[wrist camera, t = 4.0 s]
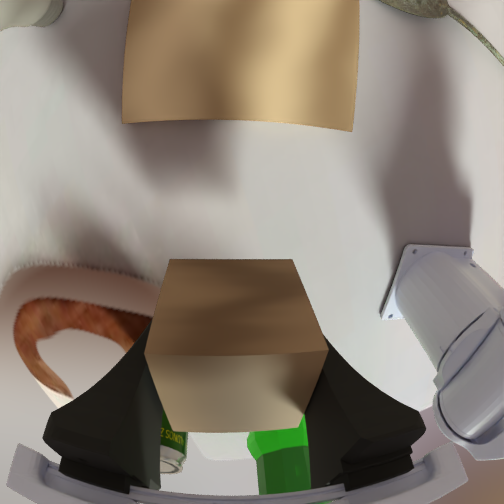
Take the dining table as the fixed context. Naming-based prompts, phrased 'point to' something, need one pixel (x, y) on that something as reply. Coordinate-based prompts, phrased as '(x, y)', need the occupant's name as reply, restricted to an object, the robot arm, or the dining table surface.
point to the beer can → (172, 448)
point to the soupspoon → (439, 16)
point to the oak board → (242, 61)
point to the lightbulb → (29, 13)
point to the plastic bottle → (281, 459)
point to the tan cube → (234, 345)
